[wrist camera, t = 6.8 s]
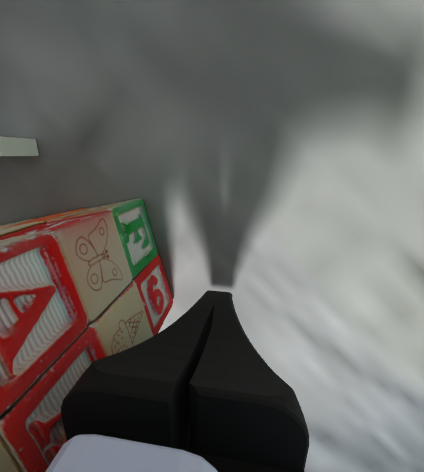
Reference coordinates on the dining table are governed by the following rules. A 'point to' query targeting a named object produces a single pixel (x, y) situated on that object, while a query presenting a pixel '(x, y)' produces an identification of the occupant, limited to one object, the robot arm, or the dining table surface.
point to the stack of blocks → (69, 315)
